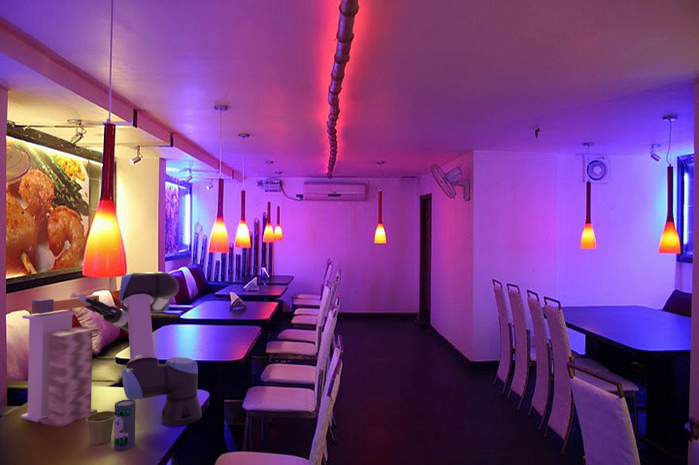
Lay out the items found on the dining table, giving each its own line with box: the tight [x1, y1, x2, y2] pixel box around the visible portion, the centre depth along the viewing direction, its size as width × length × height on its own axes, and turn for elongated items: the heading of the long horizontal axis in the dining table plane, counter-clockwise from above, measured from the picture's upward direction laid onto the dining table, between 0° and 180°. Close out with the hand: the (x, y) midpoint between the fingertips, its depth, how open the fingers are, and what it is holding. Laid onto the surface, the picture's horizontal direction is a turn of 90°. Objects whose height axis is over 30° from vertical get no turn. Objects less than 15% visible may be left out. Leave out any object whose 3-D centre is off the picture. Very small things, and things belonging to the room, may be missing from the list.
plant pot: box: [85, 410, 115, 445], centre depth 158 cm, size 9×9×9 cm
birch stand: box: [40, 325, 100, 428], centre depth 178 cm, size 16×10×34 cm, turn 158°
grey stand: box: [20, 309, 79, 423], centre depth 182 cm, size 16×10×40 cm, turn 158°
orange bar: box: [31, 294, 100, 314], centre depth 189 cm, size 26×5×5 cm, turn 158°
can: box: [113, 399, 137, 452], centre depth 154 cm, size 6×6×15 cm
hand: (75, 296), depth 192 cm, fingers closed on orange bar, 4 cm apart
